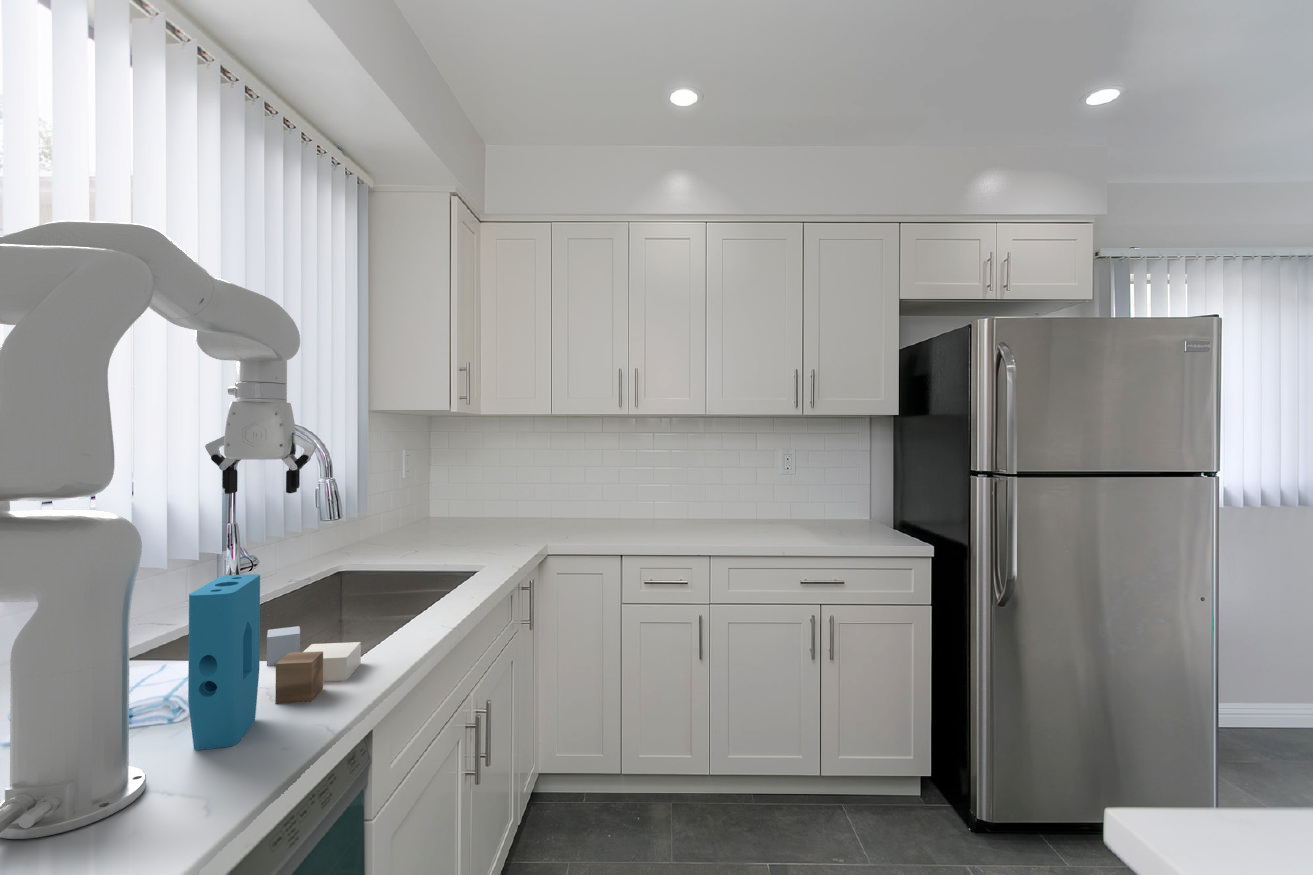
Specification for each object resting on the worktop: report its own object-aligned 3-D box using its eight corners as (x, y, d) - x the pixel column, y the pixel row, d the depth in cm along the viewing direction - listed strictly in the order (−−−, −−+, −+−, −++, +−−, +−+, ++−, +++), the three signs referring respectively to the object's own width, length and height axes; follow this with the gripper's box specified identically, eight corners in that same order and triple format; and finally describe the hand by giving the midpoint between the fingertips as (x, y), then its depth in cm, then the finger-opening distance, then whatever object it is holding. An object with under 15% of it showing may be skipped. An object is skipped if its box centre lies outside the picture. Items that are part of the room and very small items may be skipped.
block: (231, 752, 82) (232, 593, 82) (185, 757, 81) (186, 595, 81) (260, 713, 94) (261, 573, 94) (221, 716, 92) (222, 575, 92)
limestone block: (346, 681, 107) (346, 657, 107) (293, 684, 105) (293, 659, 105) (360, 664, 115) (360, 641, 115) (311, 667, 113) (311, 643, 113)
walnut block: (311, 702, 98) (311, 662, 98) (275, 704, 97) (275, 663, 97) (322, 689, 103) (323, 651, 103) (288, 691, 102) (288, 652, 102)
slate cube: (299, 661, 115) (300, 633, 115) (266, 666, 113) (267, 637, 113) (299, 653, 120) (299, 626, 120) (267, 657, 117) (267, 629, 117)
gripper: (195, 392, 108) (195, 495, 108) (308, 394, 111) (307, 494, 111) (217, 394, 116) (217, 491, 116) (322, 396, 119) (322, 490, 119)
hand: (261, 492), depth 114 cm, fingers open, 9 cm apart
